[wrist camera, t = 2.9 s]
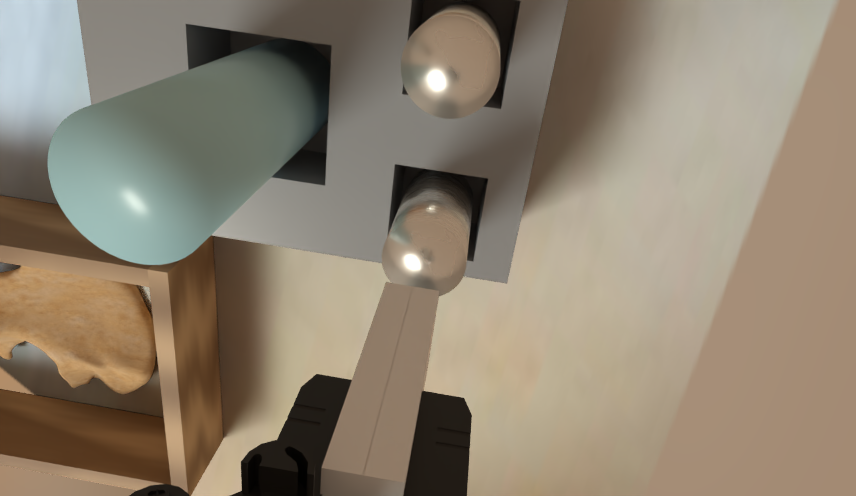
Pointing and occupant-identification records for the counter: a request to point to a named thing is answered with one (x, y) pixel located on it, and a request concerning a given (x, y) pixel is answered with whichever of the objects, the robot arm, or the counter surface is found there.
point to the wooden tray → (176, 353)
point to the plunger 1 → (453, 61)
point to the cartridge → (186, 149)
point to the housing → (352, 112)
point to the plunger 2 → (430, 232)
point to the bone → (79, 326)
